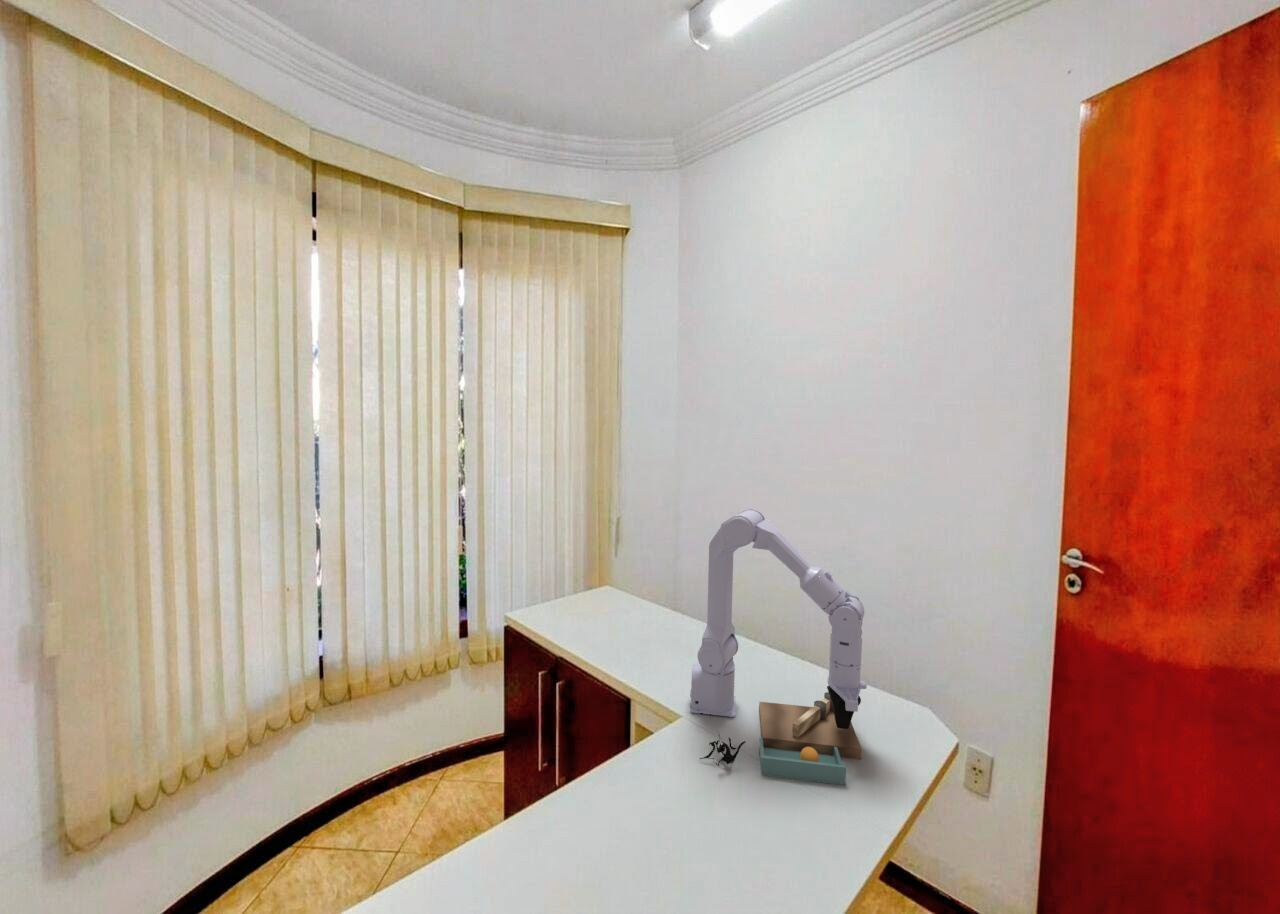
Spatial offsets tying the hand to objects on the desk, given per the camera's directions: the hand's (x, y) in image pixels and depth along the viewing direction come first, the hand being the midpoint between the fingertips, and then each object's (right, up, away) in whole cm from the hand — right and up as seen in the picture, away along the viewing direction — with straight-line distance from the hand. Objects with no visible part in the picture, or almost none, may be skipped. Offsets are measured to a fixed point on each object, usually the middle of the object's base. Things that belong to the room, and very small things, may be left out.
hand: (842, 726), depth 103 cm
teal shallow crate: (-10, -4, -7) cm, 13 cm away
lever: (-4, -1, +3) cm, 6 cm away
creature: (-25, -4, -5) cm, 25 cm away
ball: (-9, -3, -7) cm, 12 cm away
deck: (-6, -3, +3) cm, 7 cm away
